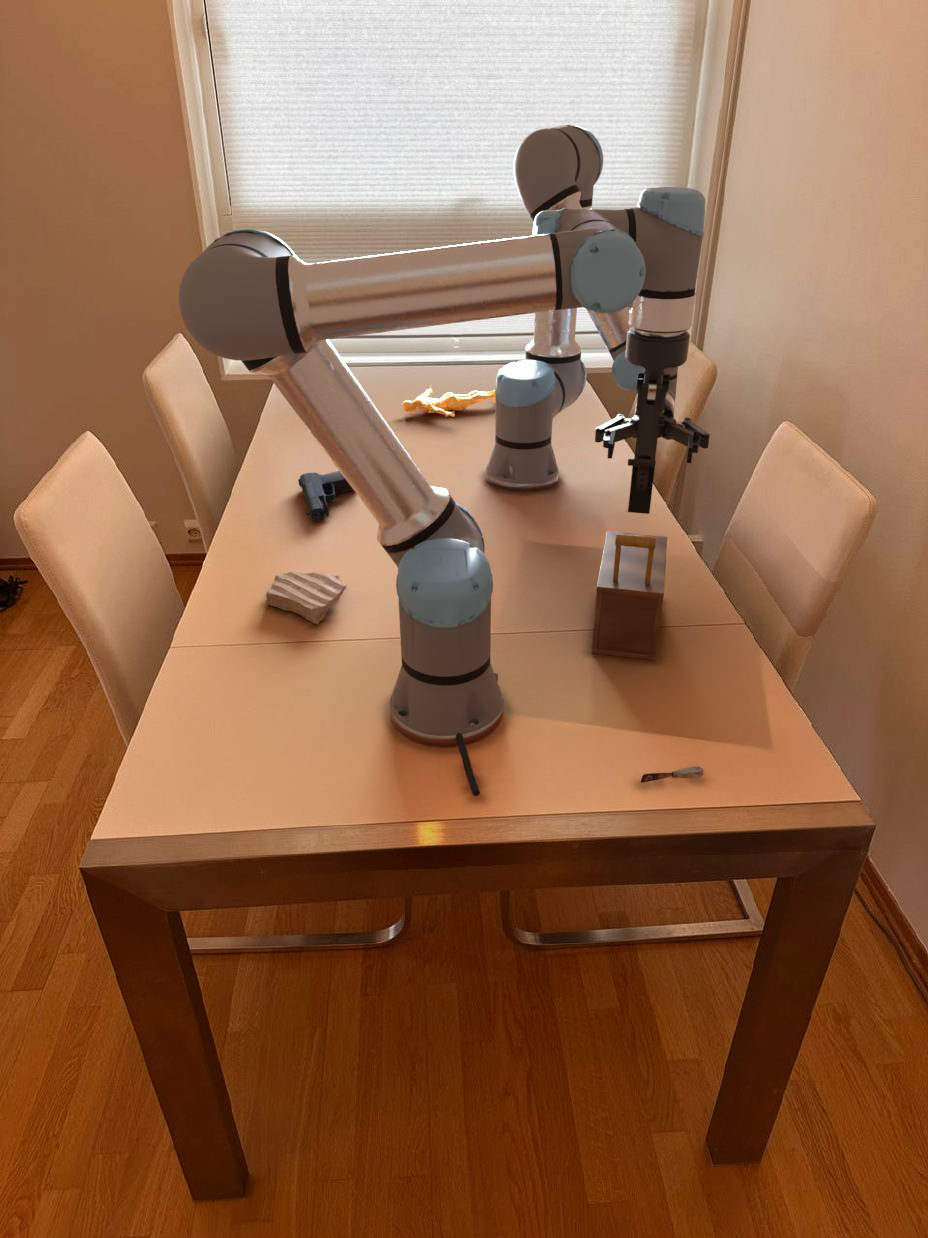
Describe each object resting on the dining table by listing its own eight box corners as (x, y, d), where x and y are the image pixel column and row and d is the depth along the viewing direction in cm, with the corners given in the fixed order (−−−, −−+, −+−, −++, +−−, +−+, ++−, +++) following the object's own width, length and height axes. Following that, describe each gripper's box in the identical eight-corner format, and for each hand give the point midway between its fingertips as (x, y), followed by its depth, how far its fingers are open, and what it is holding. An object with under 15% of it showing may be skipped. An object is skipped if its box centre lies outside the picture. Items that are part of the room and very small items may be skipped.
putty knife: (703, 777, 109) (705, 767, 109) (642, 788, 108) (644, 777, 107) (700, 772, 110) (702, 762, 109) (639, 782, 109) (640, 771, 108)
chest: (655, 660, 131) (663, 597, 125) (591, 653, 133) (596, 590, 127) (659, 602, 145) (666, 542, 140) (601, 596, 147) (606, 536, 141)
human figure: (395, 413, 223) (394, 398, 221) (438, 390, 237) (438, 375, 235) (462, 429, 215) (462, 413, 213) (502, 404, 229) (503, 388, 227)
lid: (663, 599, 125) (670, 546, 120) (596, 592, 126) (600, 540, 122) (666, 541, 140) (673, 493, 135) (606, 536, 141) (611, 488, 137)
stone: (356, 590, 149) (354, 577, 147) (319, 626, 139) (317, 612, 138) (289, 576, 153) (287, 563, 152) (249, 610, 144) (247, 596, 142)
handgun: (369, 516, 174) (308, 523, 171) (354, 480, 188) (297, 486, 185) (368, 501, 172) (306, 508, 169) (353, 466, 186) (295, 472, 183)
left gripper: (633, 304, 119) (619, 454, 131) (620, 355, 99) (605, 528, 110) (691, 306, 118) (672, 458, 129) (690, 359, 97) (667, 534, 109)
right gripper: (718, 435, 172) (721, 478, 154) (588, 429, 177) (576, 469, 159) (723, 397, 168) (726, 436, 150) (590, 391, 173) (578, 428, 155)
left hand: (641, 490), depth 120 cm, fingers open, 13 cm apart
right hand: (649, 453), depth 155 cm, fingers open, 13 cm apart
